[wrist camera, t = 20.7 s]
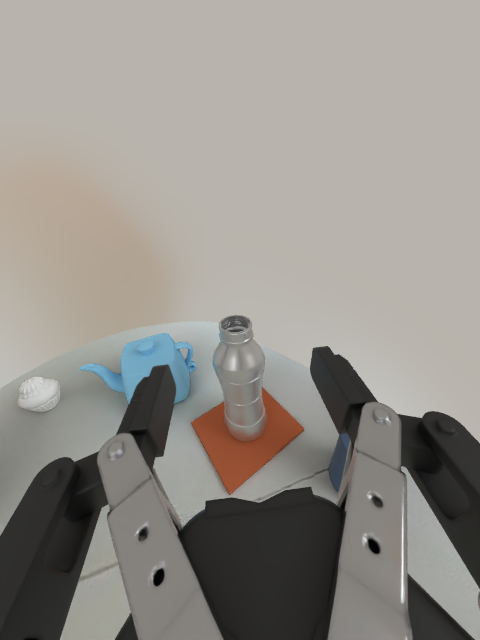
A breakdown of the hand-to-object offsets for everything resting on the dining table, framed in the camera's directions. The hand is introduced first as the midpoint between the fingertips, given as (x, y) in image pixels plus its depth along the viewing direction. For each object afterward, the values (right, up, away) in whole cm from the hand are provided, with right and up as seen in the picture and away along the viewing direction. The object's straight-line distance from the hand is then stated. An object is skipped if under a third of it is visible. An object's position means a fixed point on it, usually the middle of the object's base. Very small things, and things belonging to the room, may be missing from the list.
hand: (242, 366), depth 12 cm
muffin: (-37, -14, +30) cm, 50 cm away
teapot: (-17, -12, +31) cm, 37 cm away
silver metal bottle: (+1, -15, +22) cm, 27 cm away
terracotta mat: (+1, -15, +23) cm, 27 cm away
